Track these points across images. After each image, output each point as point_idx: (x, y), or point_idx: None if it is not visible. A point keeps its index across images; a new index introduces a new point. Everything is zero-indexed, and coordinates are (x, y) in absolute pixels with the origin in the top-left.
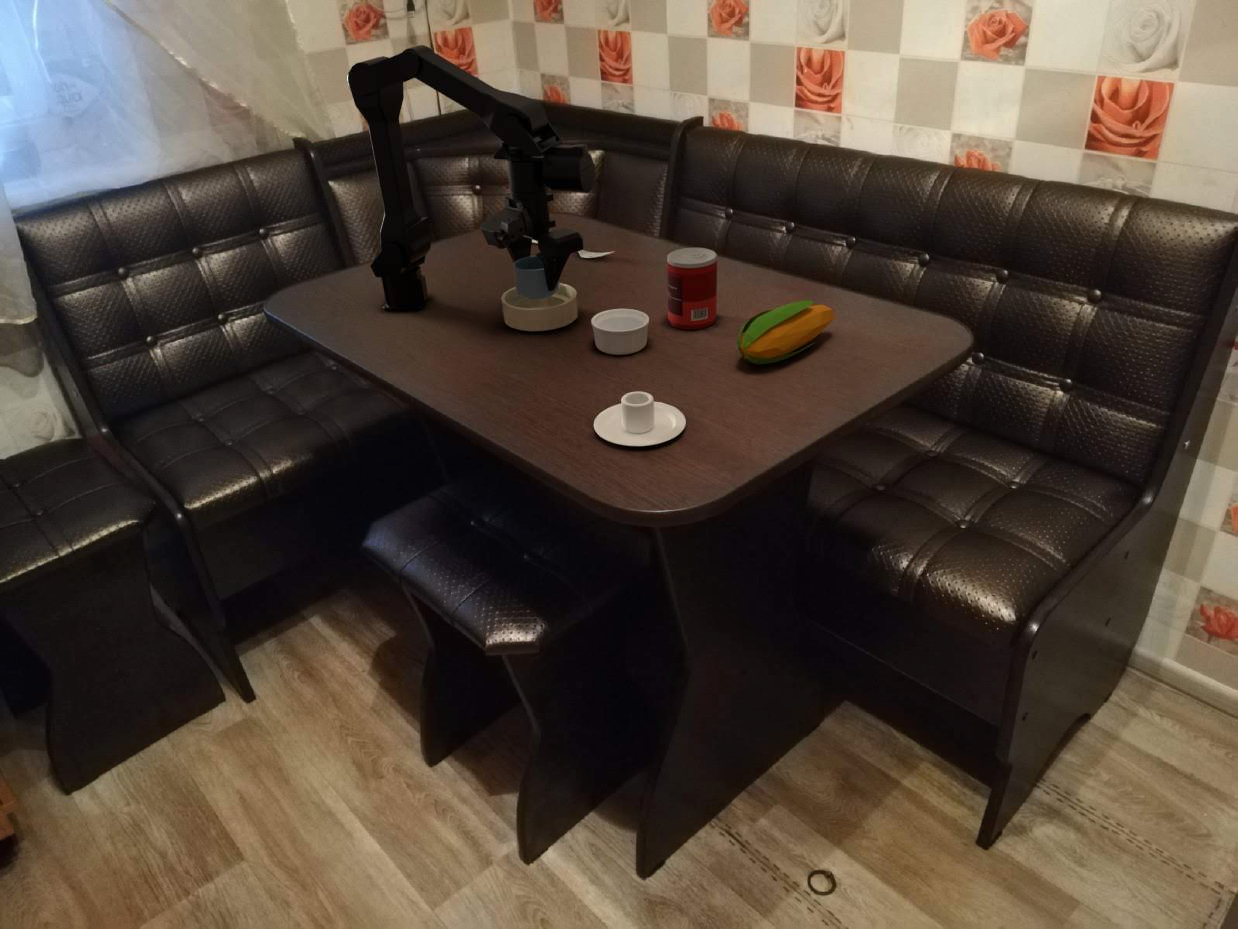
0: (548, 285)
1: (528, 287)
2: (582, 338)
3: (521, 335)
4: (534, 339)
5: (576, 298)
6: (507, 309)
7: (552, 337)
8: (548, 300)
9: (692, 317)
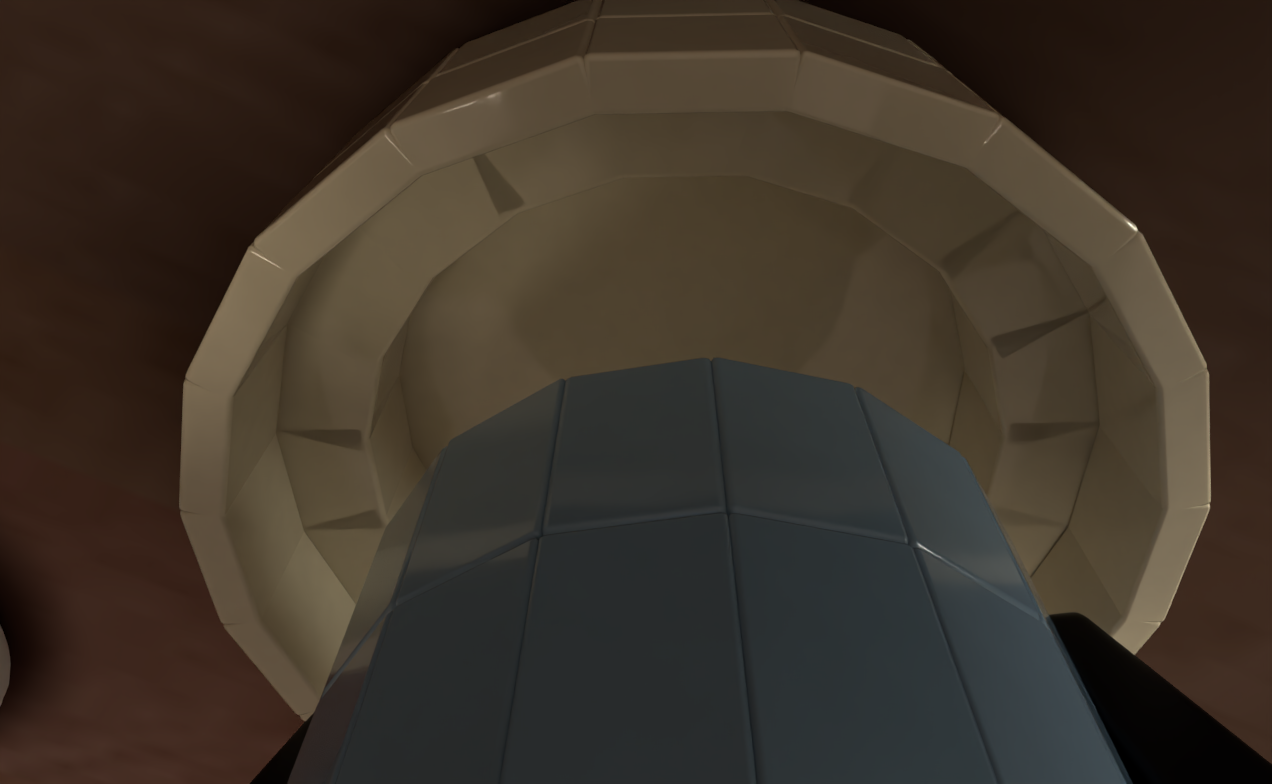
0: (278, 766)
1: (431, 543)
2: (51, 464)
3: (386, 24)
4: (201, 99)
5: None
6: (624, 35)
7: (178, 276)
8: None
9: None
